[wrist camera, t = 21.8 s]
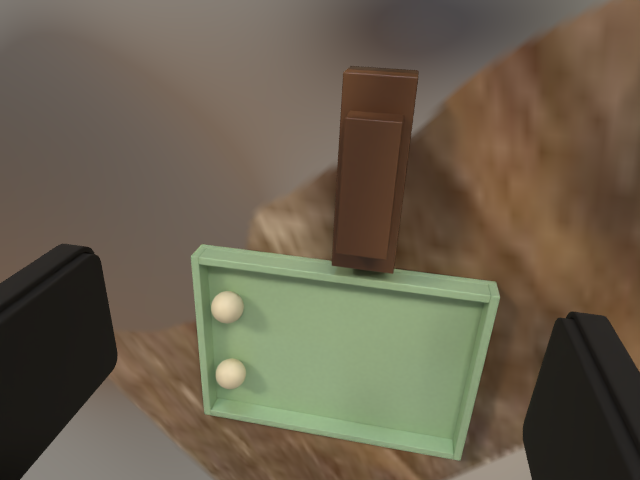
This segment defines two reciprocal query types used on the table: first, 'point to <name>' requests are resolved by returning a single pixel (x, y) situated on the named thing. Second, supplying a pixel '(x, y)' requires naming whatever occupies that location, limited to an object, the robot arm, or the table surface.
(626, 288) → the table surface
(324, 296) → the tray
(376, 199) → the stepped brown post
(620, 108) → the table surface
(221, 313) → the crumb
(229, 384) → the crumb
